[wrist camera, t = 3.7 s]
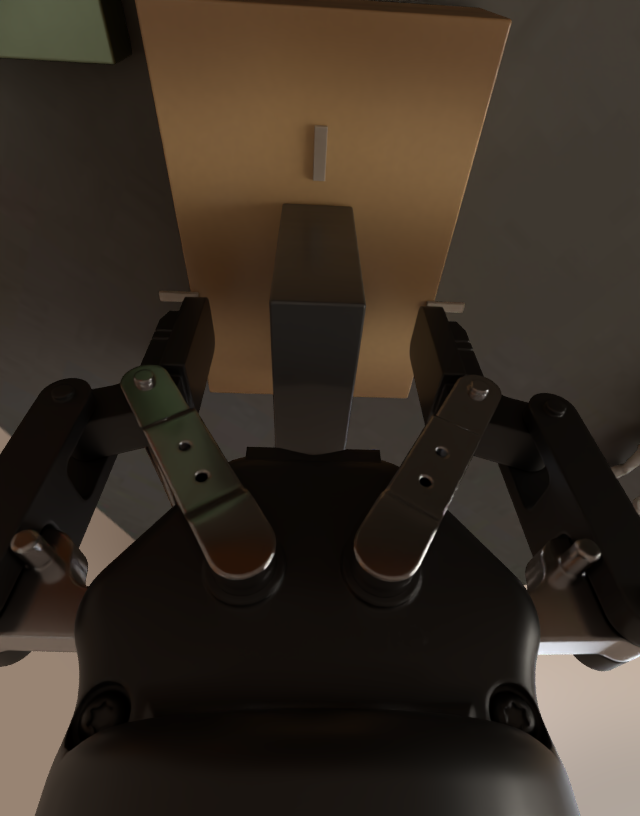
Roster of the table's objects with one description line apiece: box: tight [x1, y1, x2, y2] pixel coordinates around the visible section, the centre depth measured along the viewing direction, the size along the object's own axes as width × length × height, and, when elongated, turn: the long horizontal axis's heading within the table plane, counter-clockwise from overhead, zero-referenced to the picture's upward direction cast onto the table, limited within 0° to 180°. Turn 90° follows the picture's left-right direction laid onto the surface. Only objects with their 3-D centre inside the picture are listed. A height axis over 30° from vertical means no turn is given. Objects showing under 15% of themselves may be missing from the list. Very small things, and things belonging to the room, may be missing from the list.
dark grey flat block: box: [269, 203, 366, 455], centre depth 14 cm, size 7×2×6 cm, turn 177°
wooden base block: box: [135, 0, 511, 398], centre depth 16 cm, size 14×11×3 cm
